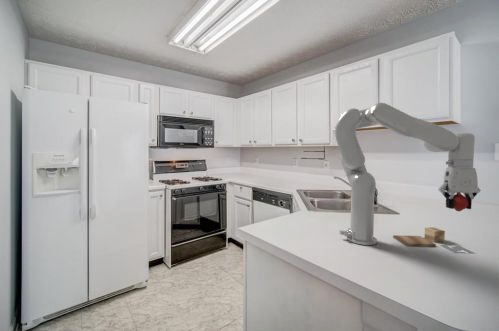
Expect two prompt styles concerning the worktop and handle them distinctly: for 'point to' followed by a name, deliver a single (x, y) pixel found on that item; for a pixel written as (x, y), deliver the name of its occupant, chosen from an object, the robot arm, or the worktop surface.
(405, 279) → the worktop surface
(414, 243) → the board
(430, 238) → the oak block
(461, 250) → the tile
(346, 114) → the robot arm
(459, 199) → the onion
